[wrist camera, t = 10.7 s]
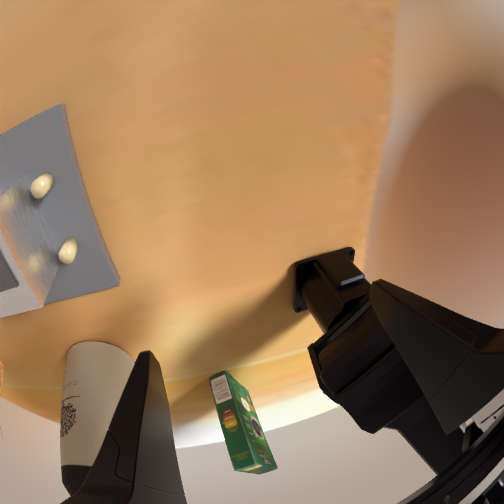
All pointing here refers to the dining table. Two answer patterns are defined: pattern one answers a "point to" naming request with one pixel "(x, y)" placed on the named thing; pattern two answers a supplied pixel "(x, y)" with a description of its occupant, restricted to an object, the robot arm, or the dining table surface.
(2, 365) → the milkshake
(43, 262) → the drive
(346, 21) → the dining table surface
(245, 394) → the coffee box
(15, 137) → the pin tray
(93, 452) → the travel mug
